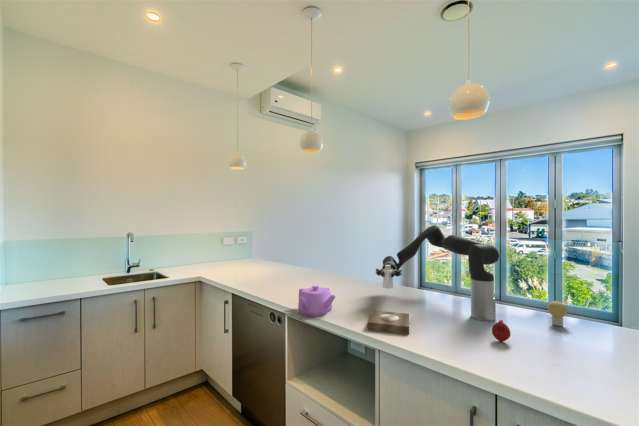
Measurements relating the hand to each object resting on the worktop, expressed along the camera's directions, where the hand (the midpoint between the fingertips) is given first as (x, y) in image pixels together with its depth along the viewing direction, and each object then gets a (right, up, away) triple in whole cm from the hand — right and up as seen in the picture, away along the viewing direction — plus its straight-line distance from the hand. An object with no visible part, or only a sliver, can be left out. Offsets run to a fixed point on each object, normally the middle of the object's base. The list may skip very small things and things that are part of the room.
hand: (387, 275), depth 140 cm
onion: (+33, -17, -36) cm, 51 cm away
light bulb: (+67, -17, -19) cm, 72 cm away
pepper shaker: (+1, -7, +3) cm, 7 cm away
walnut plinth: (-4, -17, -19) cm, 26 cm away
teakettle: (-35, -17, -2) cm, 39 cm away
